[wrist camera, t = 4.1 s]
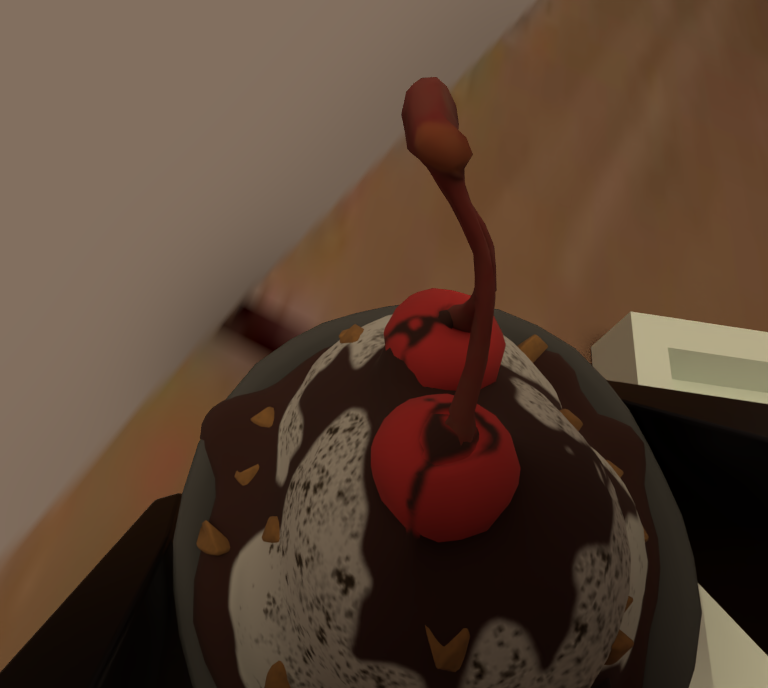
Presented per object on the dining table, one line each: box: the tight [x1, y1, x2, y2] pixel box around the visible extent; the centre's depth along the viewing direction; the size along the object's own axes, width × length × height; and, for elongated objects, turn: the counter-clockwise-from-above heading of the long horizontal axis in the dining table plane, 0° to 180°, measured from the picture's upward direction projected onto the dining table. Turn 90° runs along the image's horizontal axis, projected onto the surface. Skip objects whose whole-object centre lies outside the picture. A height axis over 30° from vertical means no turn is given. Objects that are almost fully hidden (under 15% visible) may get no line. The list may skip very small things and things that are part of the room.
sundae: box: [173, 77, 702, 688], centre depth 9 cm, size 7×7×15 cm
